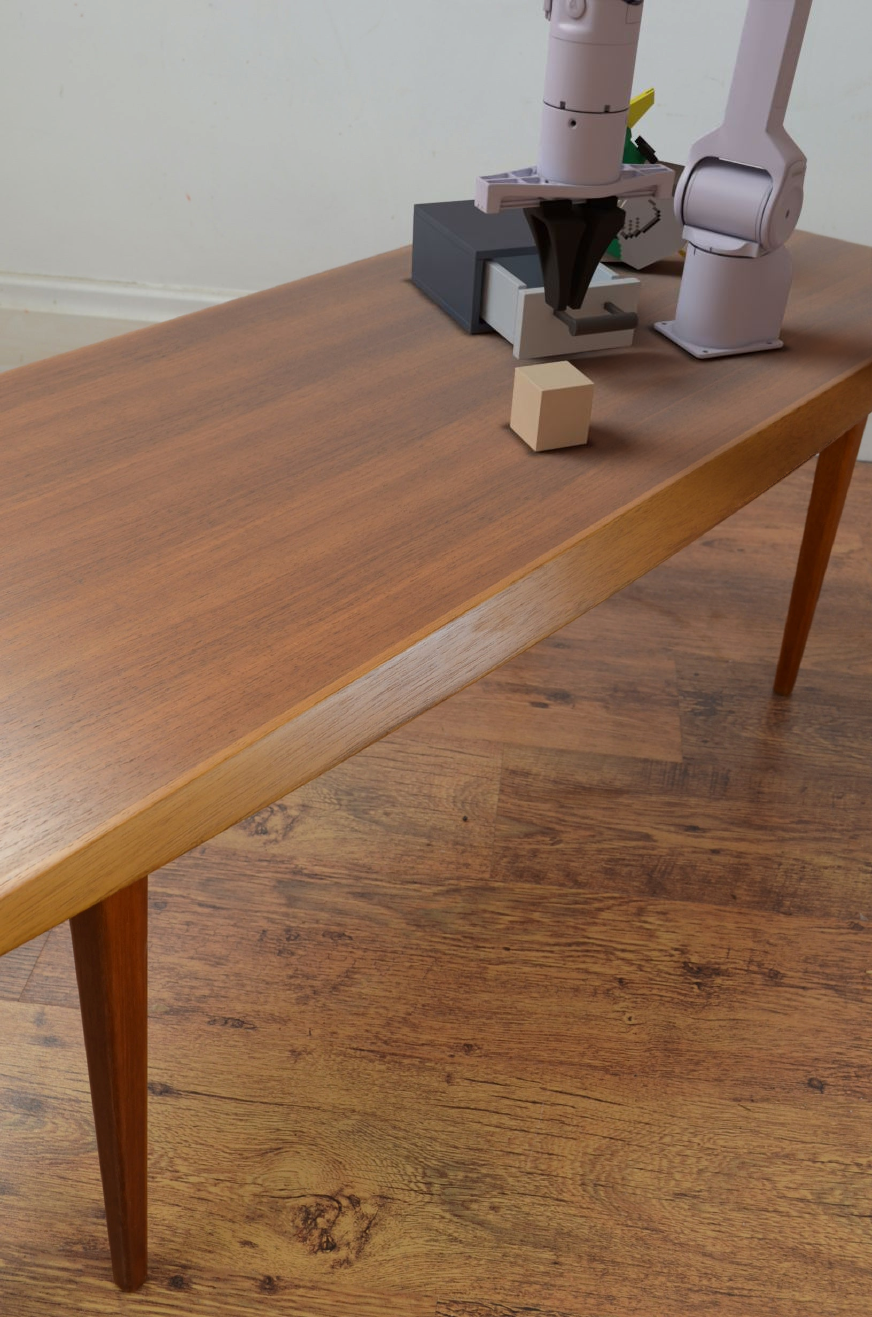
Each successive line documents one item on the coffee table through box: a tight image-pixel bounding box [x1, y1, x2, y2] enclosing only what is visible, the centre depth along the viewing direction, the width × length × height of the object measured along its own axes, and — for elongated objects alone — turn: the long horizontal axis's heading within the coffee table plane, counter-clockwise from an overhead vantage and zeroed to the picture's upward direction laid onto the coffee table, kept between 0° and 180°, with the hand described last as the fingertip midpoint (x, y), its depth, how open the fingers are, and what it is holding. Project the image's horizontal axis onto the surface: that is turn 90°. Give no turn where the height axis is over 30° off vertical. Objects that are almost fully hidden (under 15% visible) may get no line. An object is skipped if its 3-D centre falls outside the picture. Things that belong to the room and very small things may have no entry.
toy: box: [600, 86, 689, 270], centre depth 120 cm, size 6×17×20 cm
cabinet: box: [410, 199, 538, 335], centre depth 111 cm, size 15×13×8 cm
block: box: [509, 360, 596, 452], centre depth 89 cm, size 4×4×5 cm
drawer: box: [479, 254, 642, 361], centre depth 103 cm, size 18×11×6 cm, turn 23°
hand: (562, 305), depth 84 cm, fingers closed
